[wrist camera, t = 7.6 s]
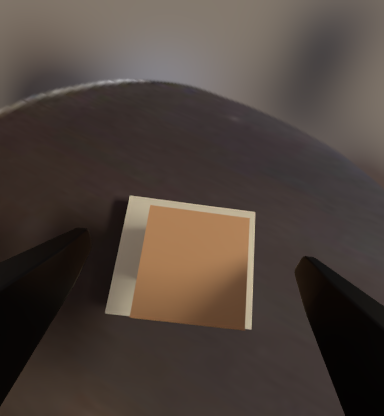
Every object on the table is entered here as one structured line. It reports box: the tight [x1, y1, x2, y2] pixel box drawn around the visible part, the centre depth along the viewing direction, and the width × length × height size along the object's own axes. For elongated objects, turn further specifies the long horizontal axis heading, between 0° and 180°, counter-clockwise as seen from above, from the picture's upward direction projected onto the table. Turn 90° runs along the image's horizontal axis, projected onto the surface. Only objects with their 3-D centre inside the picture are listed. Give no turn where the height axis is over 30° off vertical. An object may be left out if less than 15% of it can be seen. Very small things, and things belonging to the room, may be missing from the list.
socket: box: [105, 196, 255, 329], centre depth 17 cm, size 10×12×2 cm
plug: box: [129, 205, 250, 330], centre depth 13 cm, size 5×5×10 cm
